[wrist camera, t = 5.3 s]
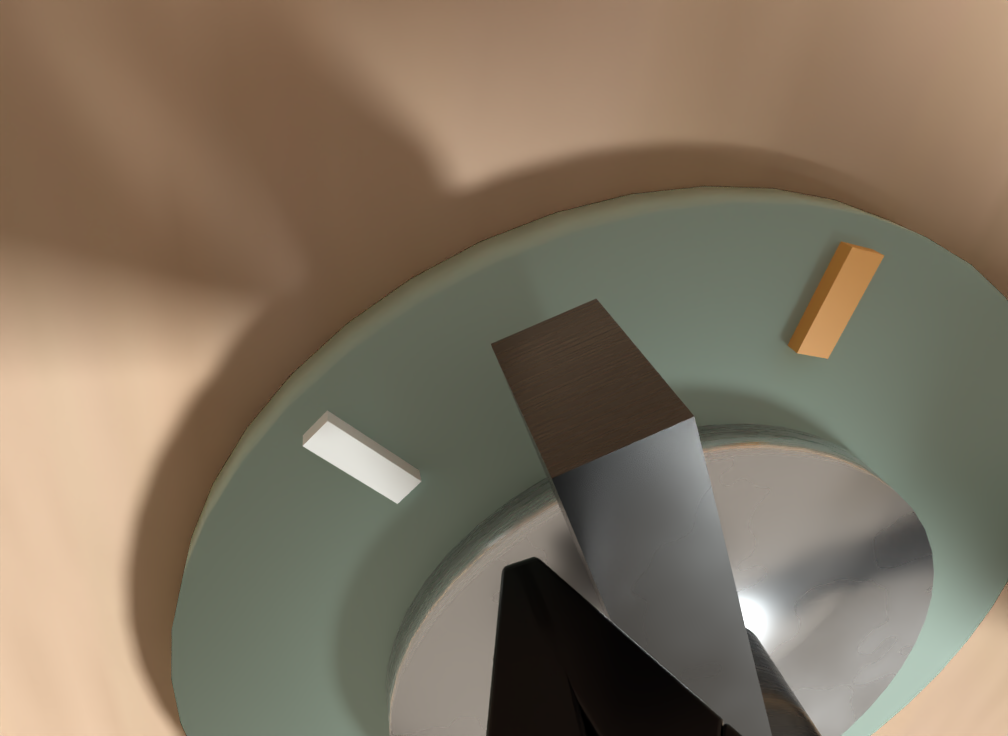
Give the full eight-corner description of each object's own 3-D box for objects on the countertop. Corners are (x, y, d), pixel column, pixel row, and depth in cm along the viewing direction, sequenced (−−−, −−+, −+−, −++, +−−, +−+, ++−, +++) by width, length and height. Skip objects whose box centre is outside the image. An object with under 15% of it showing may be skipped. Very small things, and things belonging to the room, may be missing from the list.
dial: (905, 683, 19) (1032, 839, 16) (498, 863, 19) (538, 1060, 15) (887, 137, 11) (1152, 217, 7) (156, 451, 10) (79, 683, 7)
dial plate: (1105, 522, 20) (1151, 555, 19) (585, 895, 24) (598, 940, 23) (754, -111, 10) (810, -121, 9) (-37, 717, 14) (-67, 782, 13)
